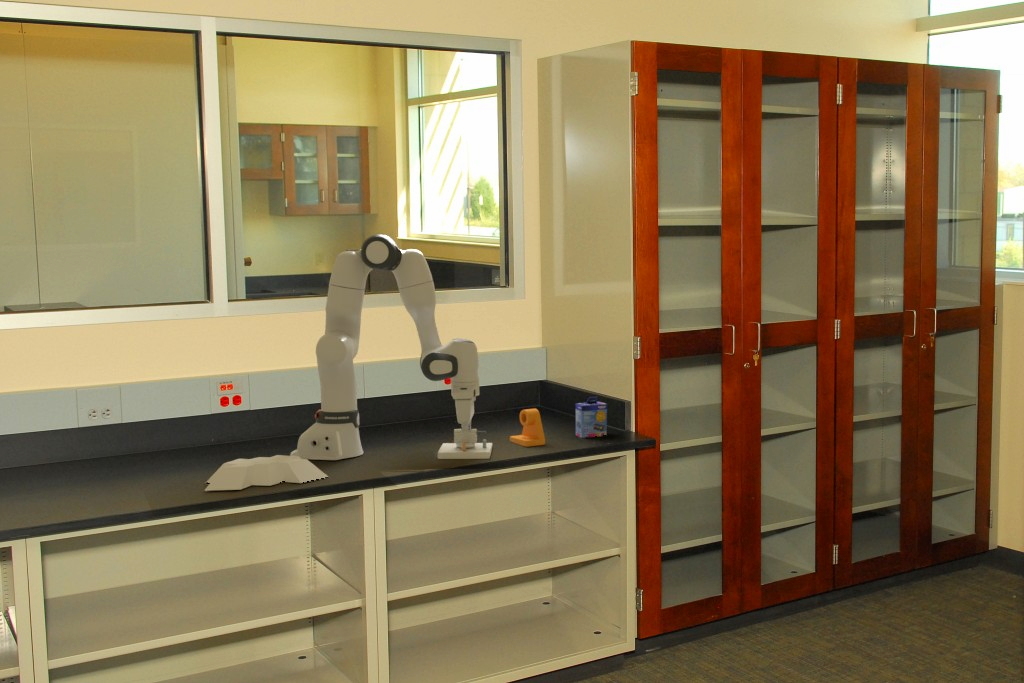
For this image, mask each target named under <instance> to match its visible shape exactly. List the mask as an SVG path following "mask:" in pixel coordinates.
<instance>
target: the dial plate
mask: <svg viewBox="0 0 1024 683" xmlns="http://www.w3.org/2000/svg"><path fill="white" fill-rule="evenodd" d="M492 449H493V442H487V439H485V438H484V439H482V442H476V443H475V447H474V448H466V443H462V448H457V447H456V443H454V442H452V443H450V442H446V443H445V442H443V443H442V445H440V448H439V450H437V460H475V459H477V460H485V459H487V460H489V459H490V458H491V453H492Z"/></svg>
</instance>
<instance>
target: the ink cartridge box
mask: <svg viewBox="0 0 1024 683" xmlns="http://www.w3.org/2000/svg"><path fill="white" fill-rule="evenodd" d="M598 398H599V396H591V397H588V399H587V401H586V402H578V403H577V402H576V403H575V436H577V437H578V438H581V439H583V438H584V439H586V437H587V438H596V437H595V436H597V437H604V436H603V435H606V436H608V435H607V433H608V432H607V430H608V428H607V425H608V421H607V420H608V419H607V418H608V403H606V402H602V401H598ZM593 399H594V400H593Z"/></svg>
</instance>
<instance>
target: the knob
mask: <svg viewBox="0 0 1024 683" xmlns="http://www.w3.org/2000/svg"><path fill="white" fill-rule="evenodd" d="M468 433H469V435H468V436H465V437H464V436H463V435H462V428H454V429H453V443H456V447H457V448H462V443H466V448H474V447H475V443H478V442H477V441H478V435H486V434H487V431H486V430H478V429H477V428H471V429H468Z"/></svg>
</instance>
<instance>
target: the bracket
mask: <svg viewBox="0 0 1024 683" xmlns="http://www.w3.org/2000/svg"><path fill="white" fill-rule="evenodd" d="M518 416H519V422H520V424H521V425H522V426H523V428H522V432H521V434H519V435H511V436H509V441H510V442H512V443H514V444H516V445H518V446H519V445H520V446H522V447H535V446H544V445H546V438H545V432H544V428H543V424H542V418H541V414H540V411H539V410H538V409H537V408H527V409H522V410H521V411H520V413H519V415H518Z"/></svg>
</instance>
